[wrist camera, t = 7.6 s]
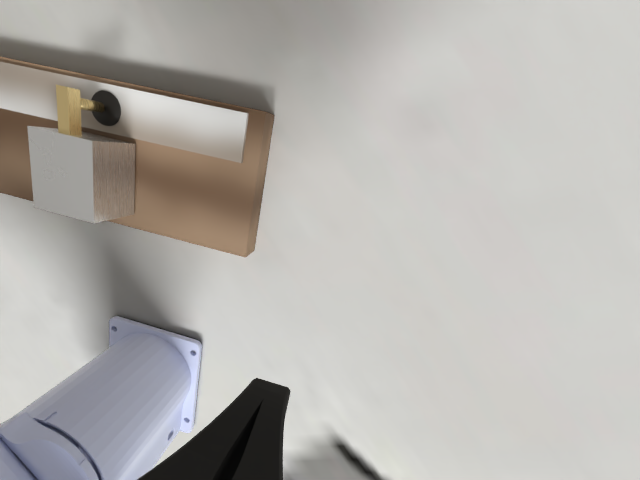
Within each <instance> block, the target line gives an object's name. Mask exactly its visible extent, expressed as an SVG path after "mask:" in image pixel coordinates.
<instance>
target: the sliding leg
mask: <svg viewBox="0 0 640 480" xmlns="http://www.w3.org/2000/svg"><path fill="white" fill-rule="evenodd" d="M56 97H57V116H58V129H56V128H45V127H35V126H27V128H28V140H29V153H30V165H31V177H32V189H33V201H34V208H38V209H41V210H45V211H49V212H53V213H56V214H60V215H64V216H68V217H71V218H75V219H79V220H83V221H86V222H90V223H99V222H103V221H107V220H112V219H116V218H120V217H125V216H129V215H133V214H134V191H135V144H134V143H130V142H126V141H121V140H117V139H113V138H108V137H104V136H100V135H95V134H91V133H87V132H82V131H81V109H82V110H88V111H94V112H99V113H103V112H104V111H105V106H104V104H103V103H102V102H98V101H93V100H88V99H83V98H80V90H78V89H74V88H70V87H65V86H61V85H56Z"/></svg>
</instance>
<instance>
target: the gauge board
mask: <svg viewBox="0 0 640 480" xmlns="http://www.w3.org/2000/svg"><path fill="white" fill-rule="evenodd" d="M56 85H61V86H65V87H70V88H74V89H78V90H80V98H83V99H88V100H93V101H98V102H102V103H103V104H104V106H105V111H104V112H103V113H99V112H94V111H88V110H82V109H81V131H82V132H87V133H91V134H95V135H100V136H104V137H108V138H113V139H117V140H121V141H126V142H130V143H134V144H135V191H134V214H133V215H129V216H125V217H120V218H116V219H112V220H107V221H110V222H114V223H118V224H121V225H125V226H129V227H133V228H136V229H140V230H144V231H148V232H152V233H155V234H159V235H163V236H167V237H171V238H174V239H178V240H182V241H186V242H189V243H193V244H197V245H201V246H205V247H208V248H212V249H216V250H220V251H223V252H227V253H231V254H235V255H239V256H242V257H247V256H248V255H249V254H250V253H252V252H253V251H254V249H255V242H256V235H257V229H258V222H259V215H260V208H261V202H262V195H263V188H264V182H265V175H266V168H267V161H268V155H269V148H270V141H271V134H272V128H273V121H274V115H272V114H270V113H268V112H265V111H261V110H256V109H251V108H246V107H241V106H236V105H232V104H227V103H222V102H217V101H212V100H208V99H203V98H198V97H193V96H188V95H183V94H179V93H174V92H169V91H164V90H159V89H154V88H150V87H145V86H140V85H135V84H130V83H125V82H121V81H116V80H111V79H106V78H101V77H97V76H92V75H87V74H82V73H77V72H72V71H68V70H63V69H58V68H53V67H48V66H43V65H39V64H34V63H29V62H24V61H19V60H14V59H10V58H5V57H0V193H4V194H8V195H12V196H15V197H19V198H23V199H27V200H30V201H33V189H32V177H31V165H30V153H29V140H28V128H27V126H35V127H45V128H56V129H58V116H57V97H56Z"/></svg>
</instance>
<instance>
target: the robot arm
mask: <svg viewBox="0 0 640 480" xmlns="http://www.w3.org/2000/svg"><path fill="white" fill-rule="evenodd" d="M193 350H194V351H195V352H196V353H195V352H194V351H193ZM201 351H202V344H201V343H200V342H199V341H198V340H195V339H192V338H189V337H185V336H182V335H179V334H175V333H172V332H169V331H165V330H162V329H159V328H155V327H152V326H149V325H146V324H142V323H139V322H136V321H132V320H129V319H126V318H122V317H119V316H114V317H112V318H111V319H110V320H109V348H108V349H107V350H105V351H104V352H103V353H101V354H100V355H99V356H97V357H96V358H94V359H93V360H92V361H90V362H89V363H87V364H86V365H85V366H83V367H82V368H80V369H79V370H78V371H76V372H75V373H73V374H72V375H71V376H69V377H68V378H66V379H65V380H64V381H62V382H61V383H59V384H58V385H57V386H55V387H54V388H52V389H51V390H50V391H48V392H47V393H45V394H44V395H43V396H41V397H40V398H38V399H37V400H36V401H34V402H33V403H31V404H30V405H29V406H27V407H26V408H24V409H23V410H22V411H20V412H19V413H18V414H16V415H15V416H13V417H12V418H11V419H9V420H7V421H5V422H3V423H1V424H0V480H283V430H284V419H285V414H286V410H287V405H288V400H289V396H290V390H289V388H288V387H285V386H281V385H278V384H275V383H271V382H268V381H265V380H262V379H258V378H256V379H254V380H253V381H252V382H251V383H250V384H249V385H248V386H247V387H246V389H245V390H244V391H243V392H242V393H241V394H240V395H239V396H238V397H237V398H236V399H235V400H234V401H233V402H232V403H231V404H230V405H229V406H228V407H227V408H226V409H225V410H224V411H223V412H222V413H221V414H220V415H219V416H217V417H216V418H215V419H214V420H213V421H212V422H211V423H210V424H209V425H208V426H206V427H205V428H204V429H203V430H202V431H200V432H199V433H198V434H197V435H196V436H195V437H193V438H192V439H191V440H190V441H189V442H187V443H186V444H185V445H184V446H182V447H181V448H180V449H179V450H177V451H176V452H175V453H173V454H172V455H171V456H169V457H168V458H167V459H165V460H164V461H163V462H161V463H160V464H159V465H157V466H156V467H154V466H155V464H156V463H157V462H158V460H159V459H160V457H161V456H162V455H163V453H164V452H165V450H166V449H167V448H168V446H169V445H170V443H171V442H172V441H173V439H174V438H175V436H176V435H177V433H178V432H179V431H182V432H185V433H190V432H191V431H192V429H193V427H194V418H195V409H196V399H197V390H198V380H199V370H200V361H201ZM153 467H154V468H153Z"/></svg>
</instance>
